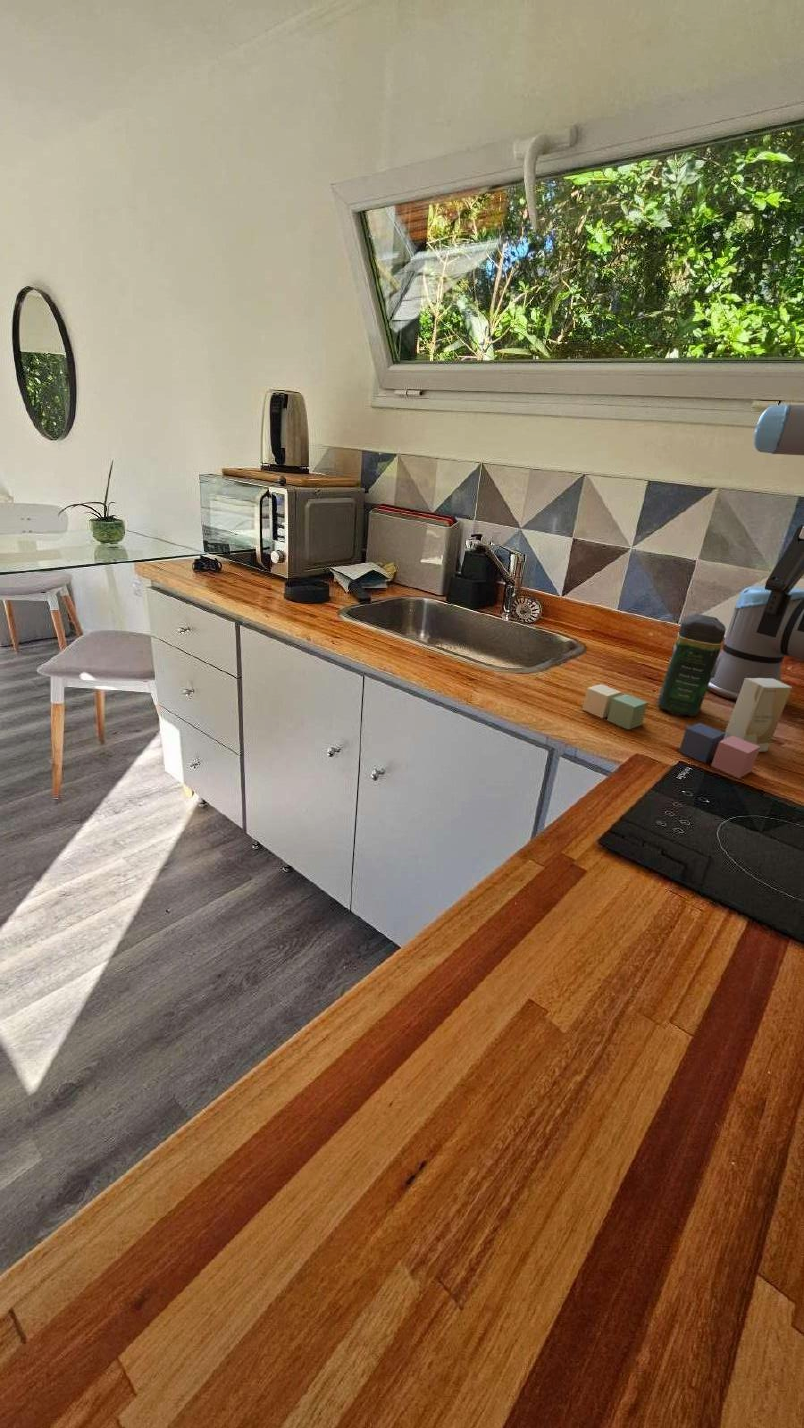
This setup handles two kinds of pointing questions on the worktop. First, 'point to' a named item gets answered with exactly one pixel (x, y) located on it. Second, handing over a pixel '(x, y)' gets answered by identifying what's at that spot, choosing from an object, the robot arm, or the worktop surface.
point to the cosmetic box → (758, 711)
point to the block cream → (599, 700)
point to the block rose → (735, 756)
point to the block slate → (701, 742)
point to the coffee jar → (691, 664)
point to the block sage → (627, 711)
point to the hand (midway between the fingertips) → (786, 633)
